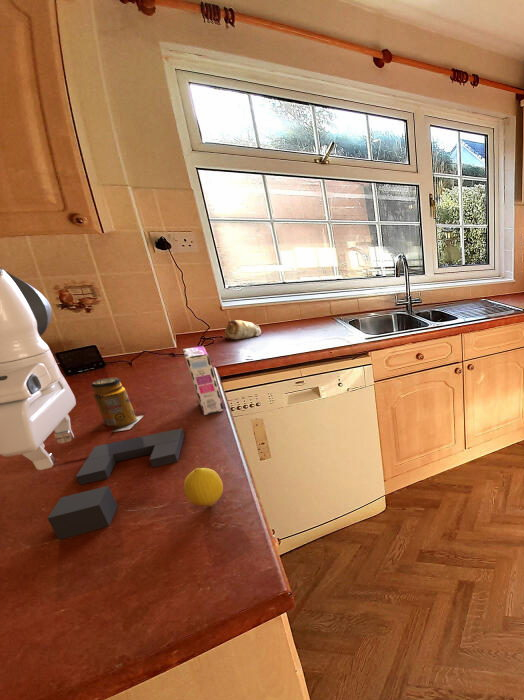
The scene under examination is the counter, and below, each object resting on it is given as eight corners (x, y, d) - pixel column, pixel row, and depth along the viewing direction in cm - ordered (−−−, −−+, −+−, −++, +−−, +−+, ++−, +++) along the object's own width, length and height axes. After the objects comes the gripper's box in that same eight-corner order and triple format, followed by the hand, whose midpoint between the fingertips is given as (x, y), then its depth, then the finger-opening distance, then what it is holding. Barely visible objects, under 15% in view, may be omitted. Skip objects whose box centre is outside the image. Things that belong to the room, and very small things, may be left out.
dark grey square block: (58, 540, 70) (47, 518, 68) (71, 518, 75) (60, 497, 73) (109, 526, 73) (99, 504, 71) (117, 505, 78) (108, 485, 76)
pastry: (218, 340, 183) (213, 322, 180) (237, 332, 194) (232, 315, 191) (250, 340, 182) (245, 322, 179) (267, 332, 194) (262, 315, 191)
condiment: (144, 416, 114) (128, 374, 109) (130, 429, 106) (112, 385, 102) (110, 420, 111) (92, 378, 107) (94, 435, 104) (74, 390, 99)
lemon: (186, 508, 77) (172, 471, 74) (219, 492, 81) (207, 457, 78) (200, 519, 74) (186, 481, 71) (233, 502, 78) (221, 465, 75)
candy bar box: (226, 410, 116) (208, 354, 110) (204, 416, 113) (185, 358, 107) (220, 398, 124) (203, 344, 117) (199, 403, 121) (181, 348, 115)
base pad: (79, 485, 84) (75, 476, 84) (98, 453, 96) (95, 446, 95) (177, 461, 92) (174, 453, 91) (184, 435, 103) (182, 428, 102)
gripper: (16, 360, 70) (53, 432, 76) (-51, 402, 54) (2, 491, 59) (67, 353, 73) (99, 423, 79) (18, 391, 57) (63, 477, 62)
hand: (57, 453), depth 69 cm, fingers open, 8 cm apart
